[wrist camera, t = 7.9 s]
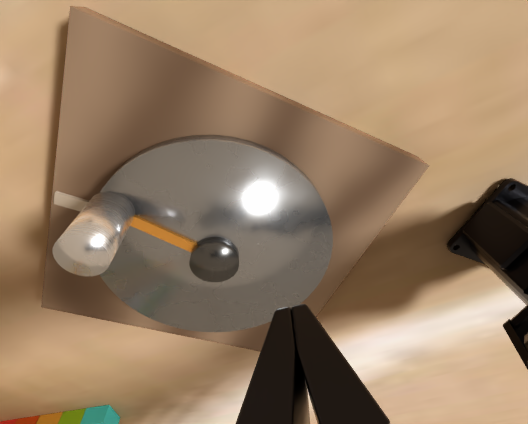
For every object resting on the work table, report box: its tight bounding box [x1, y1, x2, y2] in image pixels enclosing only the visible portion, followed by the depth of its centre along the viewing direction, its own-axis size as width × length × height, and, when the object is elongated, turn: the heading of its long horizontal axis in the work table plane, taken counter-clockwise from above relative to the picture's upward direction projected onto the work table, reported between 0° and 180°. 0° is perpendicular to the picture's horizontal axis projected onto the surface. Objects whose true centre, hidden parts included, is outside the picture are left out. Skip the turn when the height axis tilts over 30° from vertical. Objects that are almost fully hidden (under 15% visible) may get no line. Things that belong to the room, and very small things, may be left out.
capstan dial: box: [52, 135, 333, 332], centre depth 18 cm, size 15×15×5 cm
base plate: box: [41, 6, 429, 351], centre depth 21 cm, size 20×20×2 cm
